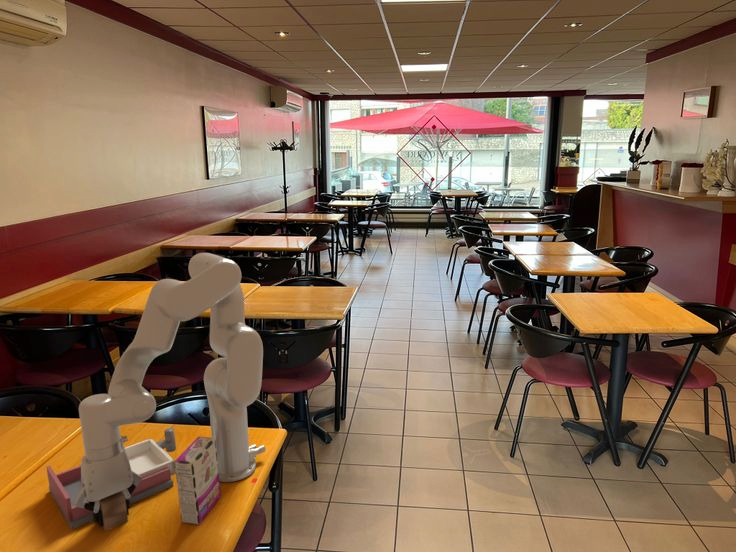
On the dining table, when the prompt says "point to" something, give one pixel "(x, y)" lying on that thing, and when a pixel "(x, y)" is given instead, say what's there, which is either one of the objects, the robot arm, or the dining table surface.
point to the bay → (68, 489)
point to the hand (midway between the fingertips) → (112, 517)
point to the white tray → (152, 455)
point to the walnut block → (113, 510)
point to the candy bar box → (197, 480)
